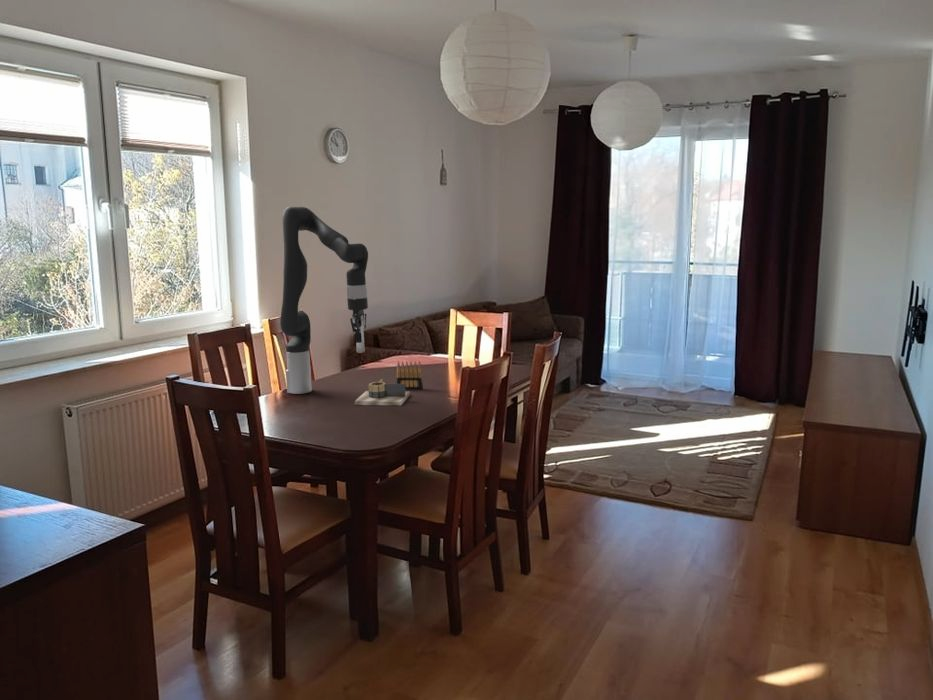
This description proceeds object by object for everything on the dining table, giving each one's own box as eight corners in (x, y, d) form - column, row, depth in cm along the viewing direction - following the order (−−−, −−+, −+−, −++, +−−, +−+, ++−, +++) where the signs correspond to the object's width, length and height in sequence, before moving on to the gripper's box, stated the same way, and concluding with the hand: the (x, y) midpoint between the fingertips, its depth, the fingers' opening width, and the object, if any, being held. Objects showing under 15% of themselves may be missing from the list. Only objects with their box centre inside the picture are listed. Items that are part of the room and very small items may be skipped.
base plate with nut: (355, 404, 280) (354, 388, 279) (366, 394, 296) (365, 378, 295) (401, 405, 278) (400, 388, 277) (409, 395, 293) (409, 379, 292)
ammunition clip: (396, 389, 303) (395, 361, 301) (397, 388, 305) (396, 360, 303) (422, 389, 302) (421, 361, 300) (423, 388, 304) (422, 360, 302)
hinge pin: (355, 352, 280) (353, 321, 278) (358, 351, 283) (356, 320, 281) (363, 352, 280) (361, 321, 278) (365, 351, 283) (363, 320, 281)
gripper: (353, 295, 285) (356, 338, 288) (341, 299, 272) (345, 345, 275) (371, 294, 284) (374, 338, 287) (361, 298, 270) (364, 344, 273)
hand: (360, 341), depth 281 cm, fingers closed on hinge pin, 3 cm apart
